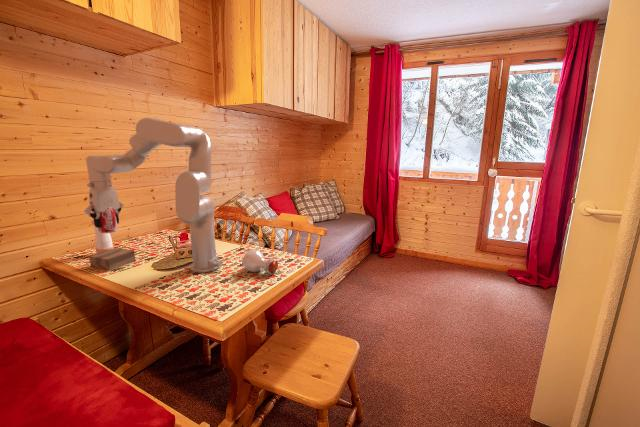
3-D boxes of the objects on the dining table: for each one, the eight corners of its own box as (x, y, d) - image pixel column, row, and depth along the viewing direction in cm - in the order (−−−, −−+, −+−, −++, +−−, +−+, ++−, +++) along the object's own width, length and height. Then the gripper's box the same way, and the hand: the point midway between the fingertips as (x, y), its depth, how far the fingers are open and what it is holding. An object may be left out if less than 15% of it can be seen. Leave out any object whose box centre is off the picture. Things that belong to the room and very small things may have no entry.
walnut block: (135, 260, 138) (134, 250, 137) (109, 270, 127) (108, 259, 126) (117, 257, 142) (115, 247, 141) (91, 266, 131) (89, 256, 130)
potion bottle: (245, 270, 130) (274, 280, 125) (234, 265, 122) (265, 275, 116) (253, 251, 133) (282, 259, 128) (243, 244, 124) (273, 253, 119)
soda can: (121, 229, 135) (118, 203, 132) (109, 234, 128) (105, 206, 125) (107, 229, 135) (103, 203, 133) (94, 233, 129) (89, 206, 126)
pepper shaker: (99, 257, 143) (93, 218, 139) (94, 254, 147) (87, 216, 143) (117, 253, 149) (110, 215, 145) (111, 250, 153) (105, 213, 149)
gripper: (85, 187, 118) (92, 231, 122) (126, 183, 134) (132, 221, 138) (72, 187, 121) (80, 229, 124) (114, 182, 136) (120, 220, 140)
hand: (107, 224), depth 131 cm, fingers closed on soda can, 6 cm apart
